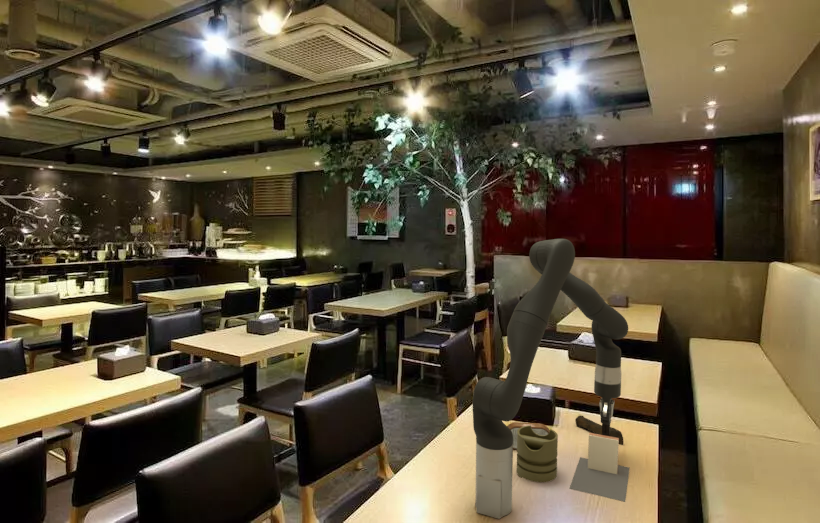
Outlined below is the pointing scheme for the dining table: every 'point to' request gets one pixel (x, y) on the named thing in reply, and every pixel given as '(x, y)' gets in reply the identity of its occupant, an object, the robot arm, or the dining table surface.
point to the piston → (536, 455)
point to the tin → (536, 427)
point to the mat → (600, 481)
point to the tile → (603, 453)
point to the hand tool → (597, 428)
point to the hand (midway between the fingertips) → (605, 434)
